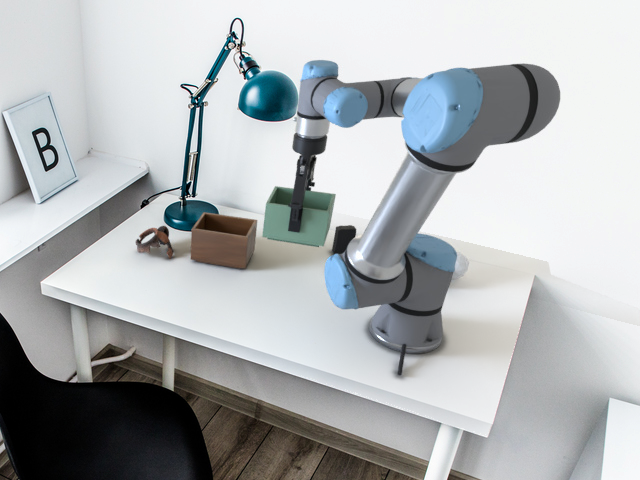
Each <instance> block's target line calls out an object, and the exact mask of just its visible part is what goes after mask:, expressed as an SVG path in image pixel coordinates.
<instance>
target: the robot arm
mask: <svg viewBox="0 0 640 480" xmlns="http://www.w3.org/2000/svg"><path fill="white" fill-rule="evenodd" d="M338 77H339V64H337V62H335V61H332V60H326V59H316V60H315V59H314V60H310V61H307V62H305V64H304V65H303V68H302V73H301V78H300V80H299V82H300V83H299V92H298V101H297V111H296V116H294V117H293V120H292V121H293V122H295V125H294V132H295V133H294V134H293V140H292V146H291V149H292V150H293V151H294V152H295V153H297V154H300V155H299V157H298V158H297V161H296V170H295V177H294V185H293V195H292V200H291V204H288V207H290V208H291V212H290V219H289V227H288V231H291V232H297V233H299V232H300V226H301V219H302V212H303V201H304V197H305V192H306V190H309V191H312V188H314V187H315V185H316V182H314V179H315V177H314V175H315V167H316V163H317V159H318V157H317V156H318V155H321V154H323V153H325V151H326V148H327V141H328V134H329V131H330V125H331V124H333V125H335V126H337V127H340V128H344V129H350V128H353V127H355V126H356V125H358V124H359V123H361V122H362V121H364V120H372V119H373V120H374V119H380V118H381V119H383V118H403V119H401V123H400V124H401V125H400V127H401V133H402V138H403V139H404V146H405V149H406V151H407V152H406V154H405V156H404V157H403V160H402V161H401V163H400V165H399V167H398V169H397V170H396V173H395V174H394V176H393V178H392V180H391V182H390V183H389V185H388V187H387V189H386V191H385V193H383V196H382V198H381V200H380V201H379V204H378V206H377V208H376V209H375V211H374V213H373V215H372V216H371V218H370V221H369V222H368V224H367V226H366V228H365V229H364V231H363V233H362V234H359V235H356V236H355V238H354V239H352V240H351V241H350V243H349V244H348V246H347V248H346V250H345V252H344V253H343V254H335V255H334V254H333V255H330V256H329V257H328V258H327V259H326V261H325V264H324V271H323V272H324V273H323V275H324V282H325V288H326V290H327V291H326V292H327V294H328V296H329V298H330V300H331V302H332V303H333V304H334V305H335V307H336V308H338V309H341V310H343V311H345V310H358V309H364V308H370V307H377V306H379V307H378V309H377V310H376V311H375V313H374V314H373V315H372V317H371V319H370V323H369V332H370V335H371V337H373V339H374V340H375V341H376V342H378V343H379V344H380V345H382V346H383V347H386V348H388V349H390V350H393V351H396V352H400V355H399V362H398V367H397V375H398V376H402V374H403V368H404V361H405V355H406V354H425V353H430V352H432V351H434V350H436V349H438V347H440V346H441V343H442V340H443V337H444V328H443V327H444V325H443V317H442V315H443V314H442V309H443V306H444V303H445V300H446V296H447V294H448V290H449V287H450V284H451V281H452V279H451V278H452V275H453V272H454V271H455V264H456V260H457V253H456V252H457V251H456V249H455V247H454V246H453V245H451V244H450V243H449V242H448V241H445V240H443V239H441V238H439V237H437V236H434V235H430V234H426V233H425V234H424V233H419V232H420V230H421V229H422V228H423V225H424V224H425V223H426V222H427V219H428V218H429V217H430V215H431V214H432V212H433V210H434V209H435V207H436V206H437V204H438V202H439V201H440V199H441V198H442V196H443V195H444V193H445V192H446V190H447V189H448V187H449V186H450V184H451V182H452V181H453V180H454V178H455V176H456V175H457V174H459V173H463V172H466V171H468V170H470V169H471V168H473V166H474V165H475V163H476V162H477V160H478V159H479V158H480V156H481V154H482V153H483V151H484V150H485V149H486V148H487V147H489V146H495V145H496V146H497V145H505V144H506V145H507V144H512V143H518V142H522V141H525V140H528V139H530V138H533V137H534V136H536V135H538V134H540V133H541V131H543V130H544V129H545V128H546V127H547V126H548V125H550V123H551V122H552V120H553V119H554V117H555V116H556V114H557V112H558V110H559V107H560V102H561V89H560V85H559V83H558V80H557V79H556V77H555V76H554V75H553V74H552V73H551V71H549V70H548V69H546V68H545V67H542V66H540V65H537V64H534V63H533V64H532V63H512V64H503V65H502V64H501V65H491V66H482V67H473V68H472V67H471V68H468V67H453V68H449V69H446V70H440V71H436V72H433V73H430V74H427V75H426V76H425V77H411V76H406V77H400V78H391V79H390V78H389V79H382V80H367V81H357V82H356V81H355V82H343V81H342V80H340V79H338Z"/></svg>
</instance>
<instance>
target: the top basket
mask: <svg viewBox="0 0 640 480" xmlns="http://www.w3.org/2000/svg"><path fill="white" fill-rule="evenodd" d="M293 189H294V187H293V188H292V187H285V186H277V185H275V186H274V187H273V189H272V191H271V193H270V195H269V197H268V199H267V201H266V203H265V209H264V219H263V228H262V236H261V237H262V238H267V239H266V240H270V241H276V242H282V243H289V244H296V245H300V246H308V247H313V248H314V247H315V248H320V247H325V243H326V240H327V237H328V234H329V231H330V228H331V223H332V218H333V211H334V207H335V201H336V196H337V195H336V193H330V192H324V191H315V190H311V191H309V190H306V192H305V197H304V201H303V212H302V219H301V226H300V232H299V233H297V232H291V231H288V227H289V219H290V212H291V208H290V207H288V204H291V200H292V195H293Z"/></svg>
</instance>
